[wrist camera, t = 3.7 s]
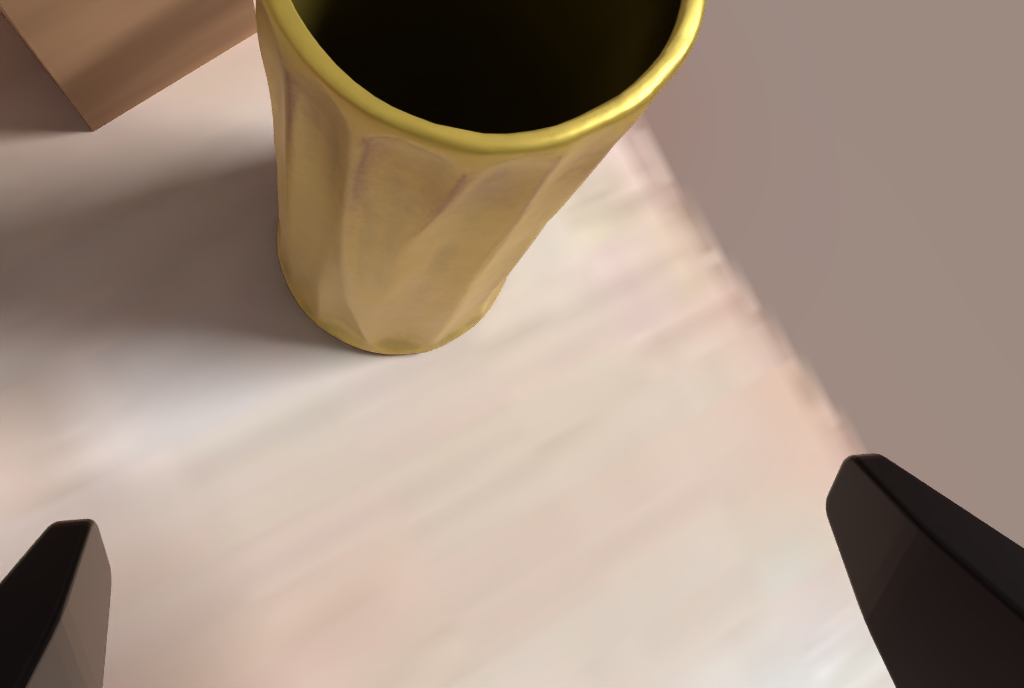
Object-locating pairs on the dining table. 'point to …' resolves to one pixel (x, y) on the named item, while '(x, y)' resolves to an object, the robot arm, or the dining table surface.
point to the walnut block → (125, 45)
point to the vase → (443, 143)
